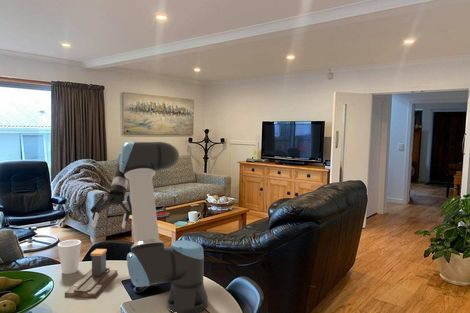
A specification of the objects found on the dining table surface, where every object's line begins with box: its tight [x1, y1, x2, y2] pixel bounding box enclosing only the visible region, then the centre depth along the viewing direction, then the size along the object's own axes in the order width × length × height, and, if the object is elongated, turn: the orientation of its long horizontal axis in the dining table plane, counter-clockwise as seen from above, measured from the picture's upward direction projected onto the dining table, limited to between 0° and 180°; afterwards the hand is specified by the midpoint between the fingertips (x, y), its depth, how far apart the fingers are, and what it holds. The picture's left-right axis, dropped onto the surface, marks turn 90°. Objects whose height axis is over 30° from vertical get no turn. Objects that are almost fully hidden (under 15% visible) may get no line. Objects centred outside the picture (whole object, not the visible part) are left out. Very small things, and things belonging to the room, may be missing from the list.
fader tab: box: [90, 248, 108, 276], centre depth 148 cm, size 5×6×10 cm
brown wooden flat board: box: [64, 267, 118, 298], centre depth 142 cm, size 12×22×2 cm, turn 178°
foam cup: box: [57, 239, 82, 275], centre depth 155 cm, size 10×9×13 cm
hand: (108, 226), depth 159 cm, fingers open, 13 cm apart
